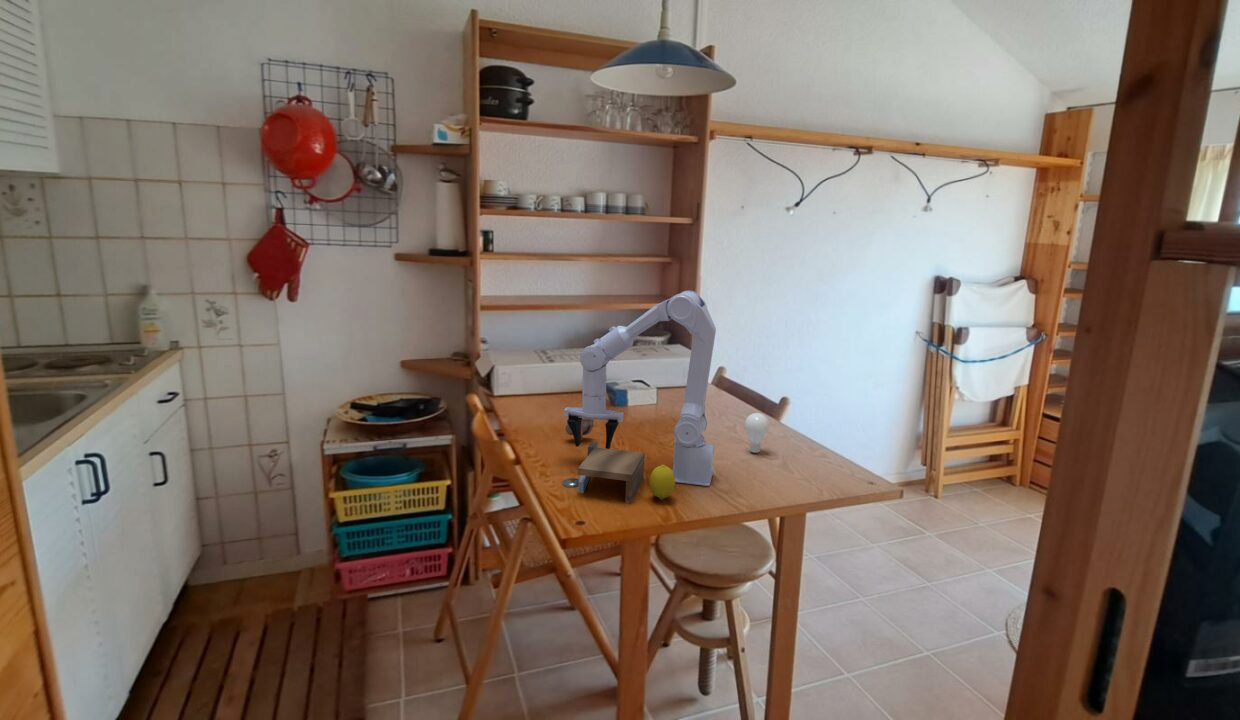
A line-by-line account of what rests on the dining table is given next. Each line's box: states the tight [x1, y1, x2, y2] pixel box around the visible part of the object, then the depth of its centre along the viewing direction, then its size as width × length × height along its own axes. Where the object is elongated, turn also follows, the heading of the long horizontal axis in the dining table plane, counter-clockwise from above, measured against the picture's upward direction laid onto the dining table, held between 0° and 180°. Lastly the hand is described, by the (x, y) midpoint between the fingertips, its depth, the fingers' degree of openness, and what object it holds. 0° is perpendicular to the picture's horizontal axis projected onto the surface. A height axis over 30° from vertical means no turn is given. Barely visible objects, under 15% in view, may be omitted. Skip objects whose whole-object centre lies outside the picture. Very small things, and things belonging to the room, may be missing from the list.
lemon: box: [649, 464, 676, 501], centre depth 139 cm, size 6×6×8 cm
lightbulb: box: [744, 412, 770, 454], centre depth 170 cm, size 6×6×11 cm
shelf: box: [577, 447, 645, 504], centre depth 144 cm, size 12×14×6 cm
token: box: [562, 477, 580, 489], centre depth 146 cm, size 4×4×1 cm
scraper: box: [577, 441, 599, 494], centre depth 151 cm, size 2×20×5 cm, turn 174°
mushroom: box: [565, 418, 595, 439], centre depth 174 cm, size 8×6×8 cm
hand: (593, 446), depth 158 cm, fingers open, 7 cm apart
